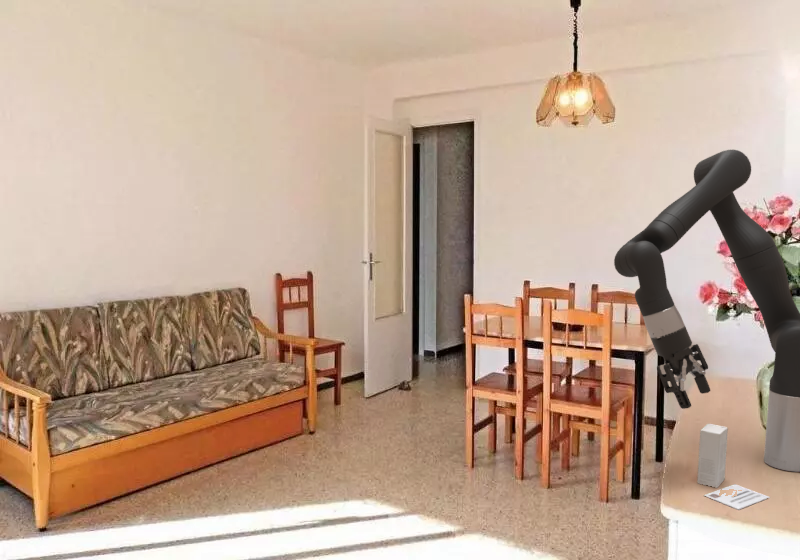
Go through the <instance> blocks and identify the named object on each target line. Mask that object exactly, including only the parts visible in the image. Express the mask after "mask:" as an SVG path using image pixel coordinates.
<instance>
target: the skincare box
mask: <svg viewBox="0 0 800 560" xmlns="http://www.w3.org/2000/svg"><path fill="white" fill-rule="evenodd" d="M728 430H729V428H728V427H727V426H724V425H717V424H713V423H706V425H704V427H703V426H702V428H701V429H700V431H699V443H698V444H699V448H698V460H697V462H698V463H697V464H698V465H697V481H696V483H697V484H700V485H702V484H703V486H706V485H708V486H707V487H710V486H712V487H711V488H714V487H715V489H718V488H719V487H720V485H722V483H723V482H724V481H725V480H726V479H725V477H726V463H727V461H726V460H727V446H728V434H729V433H728Z"/></svg>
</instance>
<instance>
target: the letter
mask: <svg viewBox="0 0 800 560" xmlns="http://www.w3.org/2000/svg"><path fill="white" fill-rule="evenodd" d="M721 489H722V490H729V489H734V490H737V496H734V497H732V496H733V495H734V494H735V492H736V491H733V493H732V495H728V496H725V495H726V493H724V494H722V495H721V496H719V493H720V490H721ZM738 490H742V491H738ZM705 496H706V498H707V497H708V499H710V498H711V499H710V500H712V499H713V501H715V502H717V503H720V504H723V505H725V506H728V507H730V508H733V509H735V510H737V511H740V510H742V509H745V508H747V507H750V506H752V505H756V504H757V503H760V502H761V503H762V502H763V501H765V500H768V499H770V498H771V497H770V496H768V495H765V494H763V493H760V492H757V491H754V490H753V489H749V488H747V487H743V486H741V485H739V484H732V485H728V486H726V487H722V488H720V489H718V490H714V491H712V492H709V493H706V494H704V495H703V497H705ZM767 498H768V499H767Z"/></svg>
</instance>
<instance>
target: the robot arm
mask: <svg viewBox="0 0 800 560" xmlns="http://www.w3.org/2000/svg"><path fill="white" fill-rule="evenodd" d="M751 174H752V165H751V161H750V159H749V157H748V155H747V154H745V153H744V152H743V151H740V150H738V149H726V150H723V151H722V150H721V151H720V152H717V153H715V154H713V155H711V156H708V157H706V158H705V159H702V160H701V161H699V162H698V163H697V164H696V165H695V167H694V170H693V180H694V186H693V187H692V188H691V189H689V190H688V191H687V192H685V193H684V194H683V195H681V196H680V197H678V198H677V199H676V200H674V201H673V202H672V203H670V204H669V205H668V206H666V208H664V209H663V210H662V211H661V212H660V213H659V214H658V215H657V216H655V218H653V220H652V221H651V222H650V223H648V224H647V226H646V227H645V228H644V229H643V230H642V231H640V232H639V233H638V234H635V236H634V237H632V238H631V239H629V240H628V241H627V242H626V243H624V244H623V245H622V246H621V247H620V248H619V249H618V251H617V252H616V254H615V256H614V260H613V266H614V268H615V270H616V272H617V273H618V274H620V276H623V277H625V278H636V277H637V278H638V284H639V288H637V289H636V290H635V292H634V298H635V302H636V303H637V306H638V308H639V312H640V313H641V315H642V318H643V321H644V325H645V328H646V331H647V333H648V335H649V338H650V340H651V343H652V345H653V347H654V348H653V349H654V350H655V352H656V354H657V356H659V357H662V358H663V360H664V364H660V365H657V366H656V370H657V373H658V375H659V378H660V380H661V383H662V386H663V389H664V391H665V393H666V394H671V393H673V394H674V396H675V398H676V401H677V402H678V405H679V407H680V409H683V410H685V409H690V408H691V407H692V403H691V400H690V398H689V395H688V394H687V392H686V391H687V390H686V389H685V381H686V380H687V375H688V374H690V375H691V376H693V377H694V378H693V379H694V382H695V383H696V386H697V389H698V391H699V393H700V394H709V392H711V388H710V384H709V382H708V380H707V377H706V370H708V369H709V365H708V363H707V360H706V358H705V357H704V354H703V352H702V349H701V347H700V346H699V344H697V343H696V344H693V341H692V339H691V336H690V335H689V332H688V329H687V327H686V325H685V323H684V320H683V317H682V315H681V314H680V312H679V310H678V308H677V306H676V305H675V302H674V299H673V297H672V295H671V293H670V290H669V289H668V285H667V276H666V270H665V269H666V268H665V263H664V259H663V255H662V253H664V252H667V251H668V250H671V249H672V248H673V247H674V246H675V245H676V244H677V243H678V242H679V241H680V240H681V239H682V238H683V237H684V236H685V235H686V234H687V232H689V230H691V228H692V227H694V226H695V225H696V223H698V221H700V220H701V219H702V218H703V217H704V216H705V215H706V214H708V212H710V213H711V215H712V217H713V218H714V220H715V222H716V224H717V226H718V229H719V230H720V232H721V235H722V237H723V238H724V240H725V243H726V245H727V247H728V249H729V251H730V254H731V256H732V259H733V261H734V265H735V266H736V269H737V271H738V273H739V275H740V277H741V278H742V280H743V282H744V284H745V286H746V289H747V290H748V292H749V294H750V295H751V297H752V299H753V300H754V302H755V303H756V306H757V307H758V309H759V312H760V314H761V317H762V320H763V324H764V325H765V329H766V332H767V335H768V339H769V343H770V346H771V348H772V350H773V352H774V353H775V354H774V365H773V372H772V376H771V377H770V379H769V386H768V387H769V388H768V401H767V412H766V413H767V415H766V428H765V429H766V430H765V440H764V451H763V461H764V463H765V464H767V465H768V466H770V467H772V468H775V469H779V470H783V471H787V472H788V471H789V472H796V473H797V472H800V311H799V309H798V307H797V305H796V303H795V301H794V298H793V296H792V294H791V290H790V284H789V279H788V278H789V277H788V274H787V269H786V267H785V264H784V260H783V258H782V255H781V254H780V251H779V248H778V246H777V244H776V243H775V241H774V239H773V237H772V235H771V234H770V233H769V232H768V231H767V230H766V229H765V228H764V227H763V226H761V225H760V224H759V223H758V222H756V220H754V219H753V218H751V217H750V216H749V215H748V214H747V213H746V212H745V211H744V210H743V208H742V207H741V205H740V204H739V201H738V200H737V198H736V195H735V193H734V192H735V191H736V190H738V189H740V188H741V187H743V186H744V185H745V184H746V183H747V182H748V180H749V179H750V176H751ZM669 382H670V384H669Z"/></svg>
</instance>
